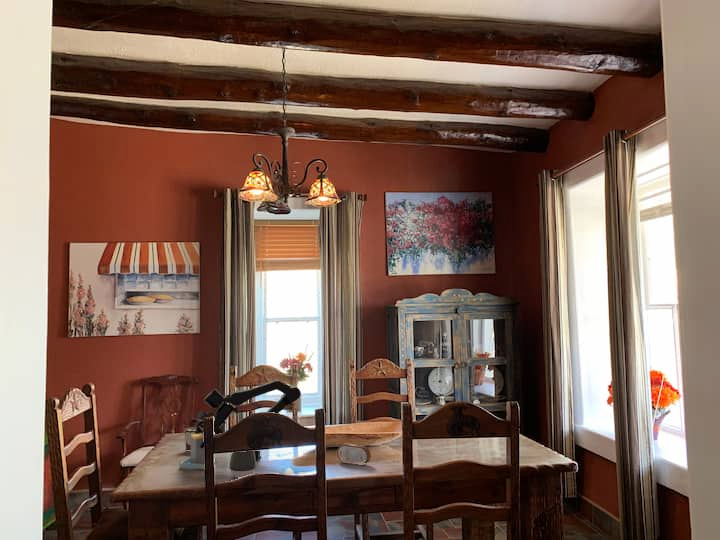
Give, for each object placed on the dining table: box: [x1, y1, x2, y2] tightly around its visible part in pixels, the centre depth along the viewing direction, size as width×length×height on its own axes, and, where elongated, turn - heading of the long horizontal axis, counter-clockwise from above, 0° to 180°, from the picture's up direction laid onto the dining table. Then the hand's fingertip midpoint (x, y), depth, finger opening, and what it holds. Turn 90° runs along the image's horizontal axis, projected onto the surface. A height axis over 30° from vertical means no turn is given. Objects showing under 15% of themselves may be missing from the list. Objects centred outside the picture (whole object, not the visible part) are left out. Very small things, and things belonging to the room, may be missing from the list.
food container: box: [183, 426, 196, 451], centre depth 243 cm, size 12×6×10 cm, turn 84°
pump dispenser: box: [229, 451, 257, 479], centre depth 203 cm, size 10×10×15 cm
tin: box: [336, 442, 372, 464], centre depth 222 cm, size 15×3×8 cm, turn 65°
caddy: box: [189, 433, 204, 464], centre depth 217 cm, size 5×5×12 cm
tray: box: [179, 456, 217, 470], centre depth 217 cm, size 11×11×2 cm
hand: (195, 445), depth 217 cm, fingers open, 9 cm apart
